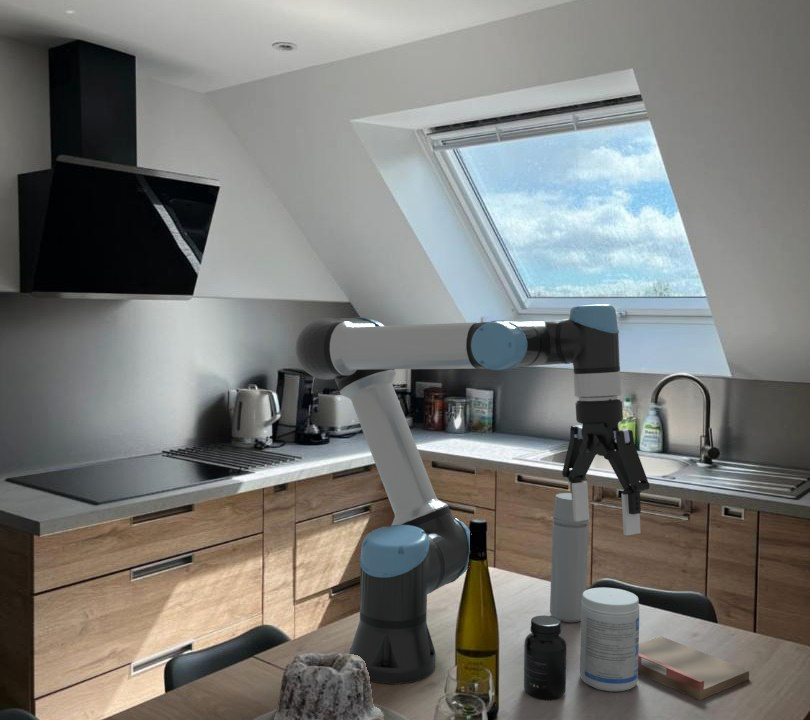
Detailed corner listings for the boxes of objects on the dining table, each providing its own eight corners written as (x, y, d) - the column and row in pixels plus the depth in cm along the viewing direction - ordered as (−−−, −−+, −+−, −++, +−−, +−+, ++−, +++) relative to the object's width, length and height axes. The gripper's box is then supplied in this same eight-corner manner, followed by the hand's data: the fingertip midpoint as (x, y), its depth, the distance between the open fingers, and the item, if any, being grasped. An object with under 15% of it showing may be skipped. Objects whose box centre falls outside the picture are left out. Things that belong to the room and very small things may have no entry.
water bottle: (585, 626, 166) (589, 501, 165) (545, 621, 168) (549, 498, 167) (588, 610, 175) (592, 492, 174) (551, 606, 177) (554, 489, 176)
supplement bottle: (536, 679, 142) (538, 609, 141) (573, 691, 137) (575, 619, 137) (515, 692, 136) (517, 620, 136) (552, 706, 132) (554, 631, 131)
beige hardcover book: (611, 661, 149) (611, 644, 149) (661, 644, 158) (661, 628, 158) (698, 700, 135) (699, 682, 135) (748, 679, 143) (749, 662, 143)
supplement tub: (648, 690, 138) (651, 603, 137) (596, 696, 136) (599, 607, 135) (618, 666, 147) (621, 584, 147) (569, 671, 145) (572, 588, 144)
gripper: (668, 398, 128) (675, 537, 128) (573, 395, 151) (580, 512, 151) (628, 402, 125) (636, 544, 125) (538, 398, 148) (545, 517, 148)
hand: (605, 527), depth 138 cm, fingers open, 13 cm apart
